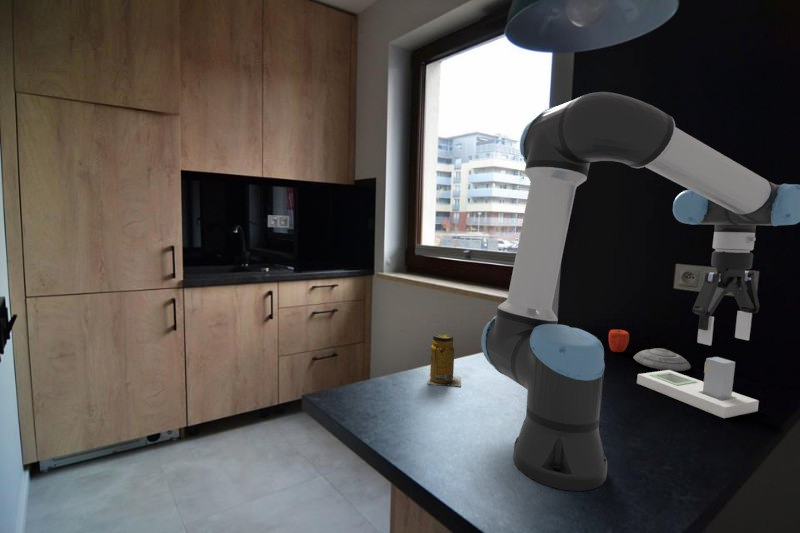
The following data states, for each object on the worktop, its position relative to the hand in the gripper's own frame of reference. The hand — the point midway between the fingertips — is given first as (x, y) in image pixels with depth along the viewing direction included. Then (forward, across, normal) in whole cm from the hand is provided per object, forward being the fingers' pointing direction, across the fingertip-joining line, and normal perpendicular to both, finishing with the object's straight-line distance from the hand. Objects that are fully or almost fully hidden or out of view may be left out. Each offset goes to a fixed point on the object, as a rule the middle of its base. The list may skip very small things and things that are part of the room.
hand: (723, 341), depth 102 cm
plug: (+16, 0, 0) cm, 16 cm away
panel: (+16, 0, +6) cm, 16 cm away
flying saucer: (+16, +14, +26) cm, 33 cm away
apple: (+16, +14, +40) cm, 46 cm away
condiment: (+15, -56, +34) cm, 67 cm away
